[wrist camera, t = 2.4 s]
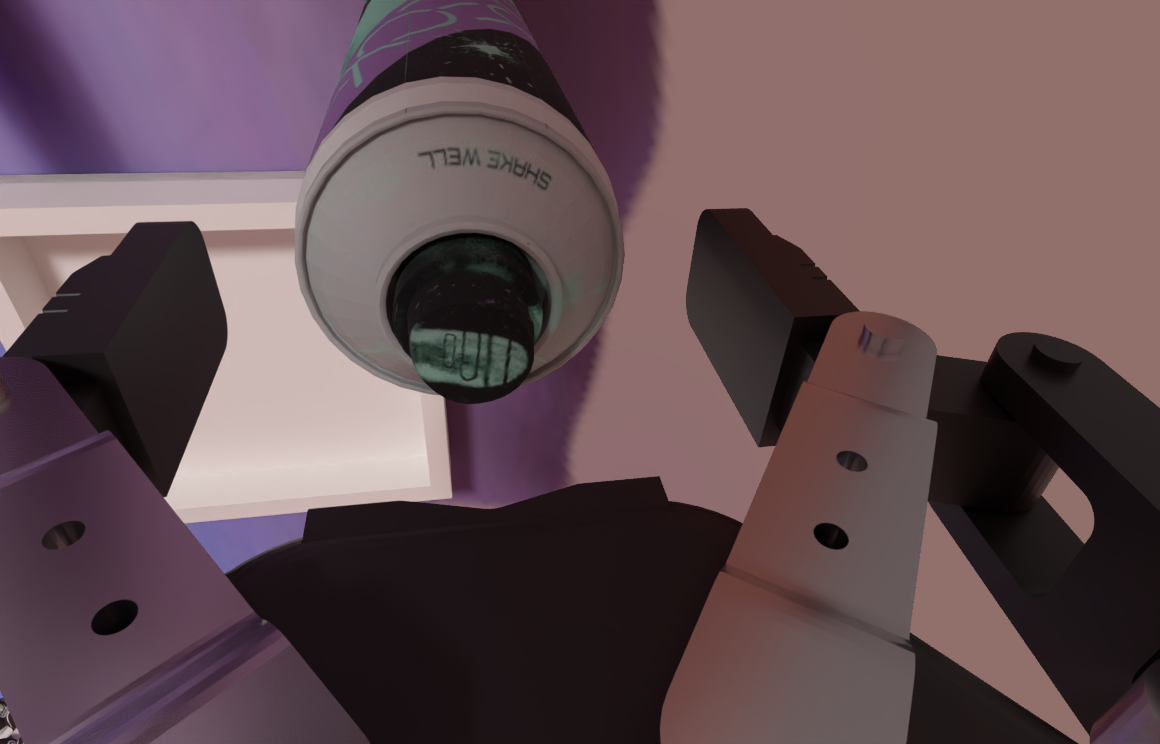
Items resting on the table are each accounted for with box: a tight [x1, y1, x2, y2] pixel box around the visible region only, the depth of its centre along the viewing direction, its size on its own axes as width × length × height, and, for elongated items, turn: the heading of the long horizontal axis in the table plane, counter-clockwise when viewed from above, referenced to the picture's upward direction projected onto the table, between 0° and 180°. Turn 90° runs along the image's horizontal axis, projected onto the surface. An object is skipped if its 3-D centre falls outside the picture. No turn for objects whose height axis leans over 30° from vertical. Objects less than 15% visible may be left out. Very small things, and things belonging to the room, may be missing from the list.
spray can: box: [295, 0, 624, 404], centre depth 17 cm, size 6×6×20 cm
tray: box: [0, 171, 452, 523], centre depth 30 cm, size 16×16×3 cm
